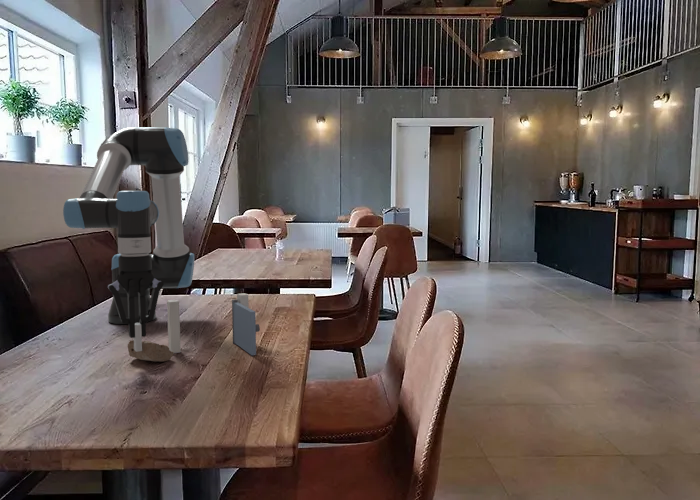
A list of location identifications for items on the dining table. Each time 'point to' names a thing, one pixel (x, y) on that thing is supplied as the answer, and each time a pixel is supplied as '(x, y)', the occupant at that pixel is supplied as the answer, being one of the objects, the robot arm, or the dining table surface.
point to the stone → (150, 351)
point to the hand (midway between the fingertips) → (138, 349)
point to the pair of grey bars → (175, 321)
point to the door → (244, 327)
